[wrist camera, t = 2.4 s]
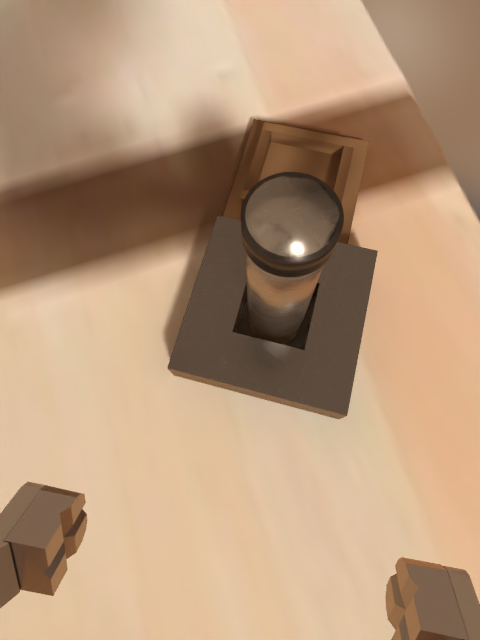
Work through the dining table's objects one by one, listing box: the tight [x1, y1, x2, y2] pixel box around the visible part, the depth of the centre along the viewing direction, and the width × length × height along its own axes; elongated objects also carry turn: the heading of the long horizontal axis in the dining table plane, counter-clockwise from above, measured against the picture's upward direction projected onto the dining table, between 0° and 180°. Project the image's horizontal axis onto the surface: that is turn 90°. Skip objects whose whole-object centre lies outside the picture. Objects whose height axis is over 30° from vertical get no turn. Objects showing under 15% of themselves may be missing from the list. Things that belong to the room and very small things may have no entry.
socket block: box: [168, 215, 378, 419], centre depth 30 cm, size 12×12×2 cm
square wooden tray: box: [223, 119, 369, 244], centre depth 34 cm, size 10×10×2 cm
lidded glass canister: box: [241, 172, 344, 344], centre depth 24 cm, size 4×4×14 cm
